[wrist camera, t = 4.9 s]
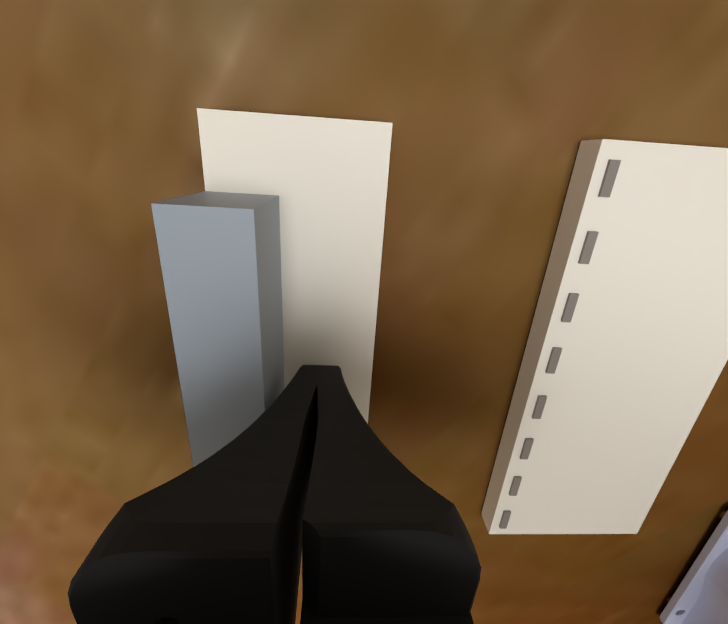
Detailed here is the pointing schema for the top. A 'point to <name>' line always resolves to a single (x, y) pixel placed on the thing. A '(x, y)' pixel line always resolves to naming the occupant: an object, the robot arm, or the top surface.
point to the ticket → (617, 341)
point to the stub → (273, 263)
